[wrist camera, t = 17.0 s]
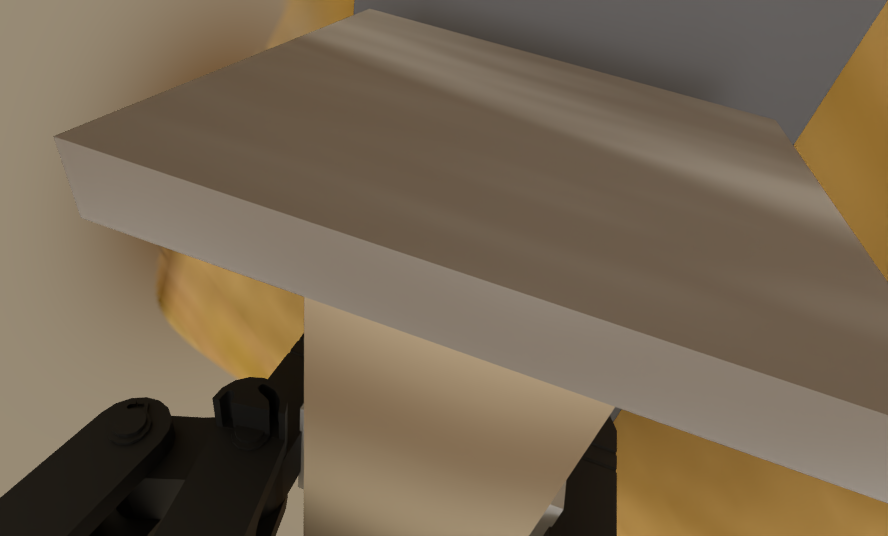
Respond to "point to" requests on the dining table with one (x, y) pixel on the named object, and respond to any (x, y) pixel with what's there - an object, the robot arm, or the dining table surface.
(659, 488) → the dining table surface
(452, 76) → the push tool
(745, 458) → the dining table surface
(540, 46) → the mat
